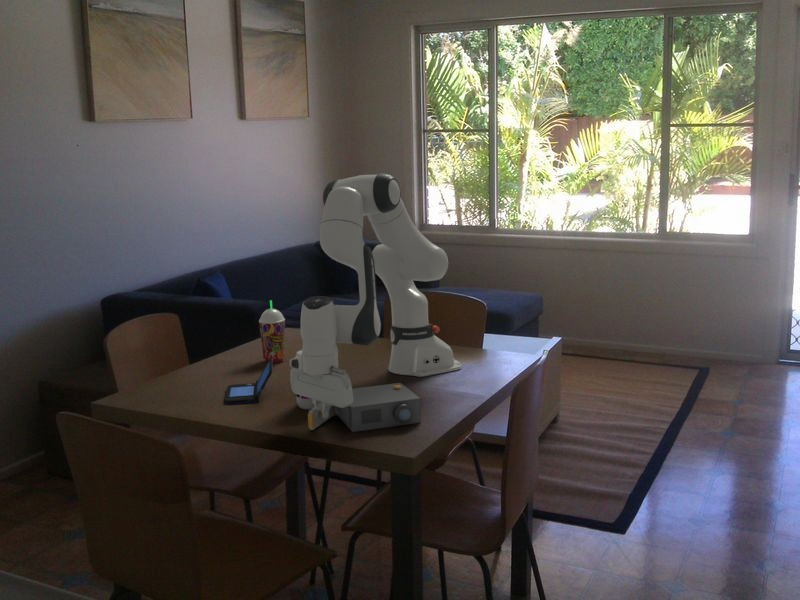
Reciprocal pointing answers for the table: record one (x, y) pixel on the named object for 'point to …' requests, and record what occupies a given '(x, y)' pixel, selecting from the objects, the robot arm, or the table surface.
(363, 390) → the camera body
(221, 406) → the table surface
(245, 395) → the handheld game console
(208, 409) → the table surface
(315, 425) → the side door
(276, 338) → the smoothie
